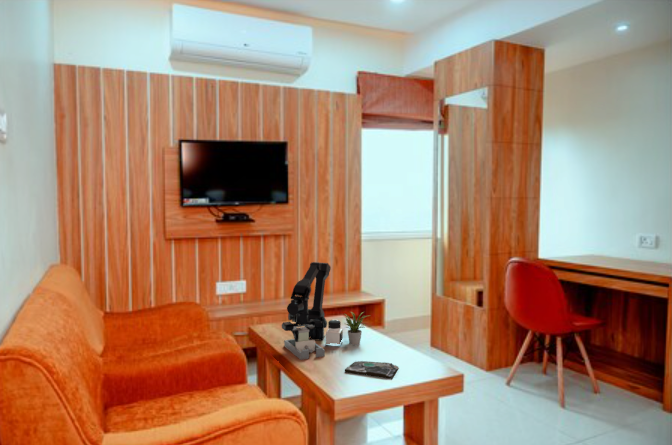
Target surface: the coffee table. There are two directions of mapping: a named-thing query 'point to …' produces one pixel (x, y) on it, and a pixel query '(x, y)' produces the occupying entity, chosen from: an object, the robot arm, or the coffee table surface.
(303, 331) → the sage jar
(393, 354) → the coffee table surface
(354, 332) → the house plant
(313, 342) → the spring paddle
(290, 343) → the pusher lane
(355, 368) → the terrain model
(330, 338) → the medicine bottle
